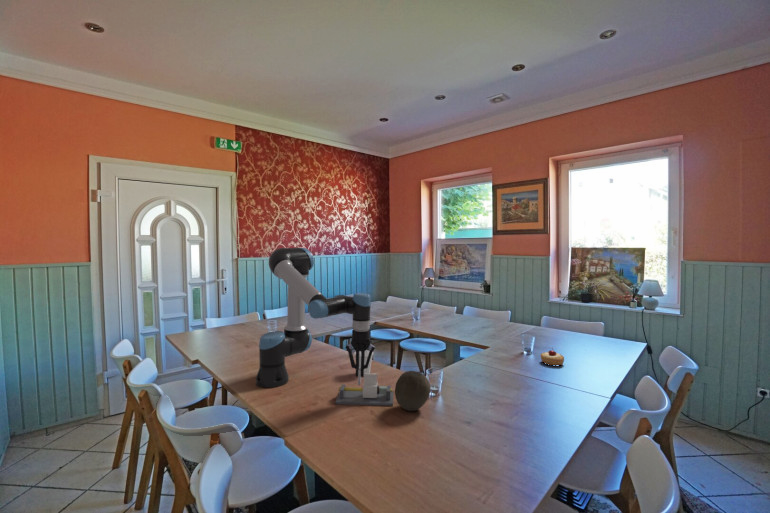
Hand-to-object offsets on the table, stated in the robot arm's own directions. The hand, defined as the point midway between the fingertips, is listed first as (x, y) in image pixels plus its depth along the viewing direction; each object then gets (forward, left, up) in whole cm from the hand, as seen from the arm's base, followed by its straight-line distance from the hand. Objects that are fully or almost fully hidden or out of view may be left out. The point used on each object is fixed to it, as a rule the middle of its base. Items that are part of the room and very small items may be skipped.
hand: (359, 383), depth 154 cm
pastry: (+103, +52, -7) cm, 115 cm away
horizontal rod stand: (+3, 0, -7) cm, 7 cm away
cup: (-1, +29, -7) cm, 30 cm away
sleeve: (+5, 0, -5) cm, 7 cm away
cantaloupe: (+23, -8, -7) cm, 25 cm away
